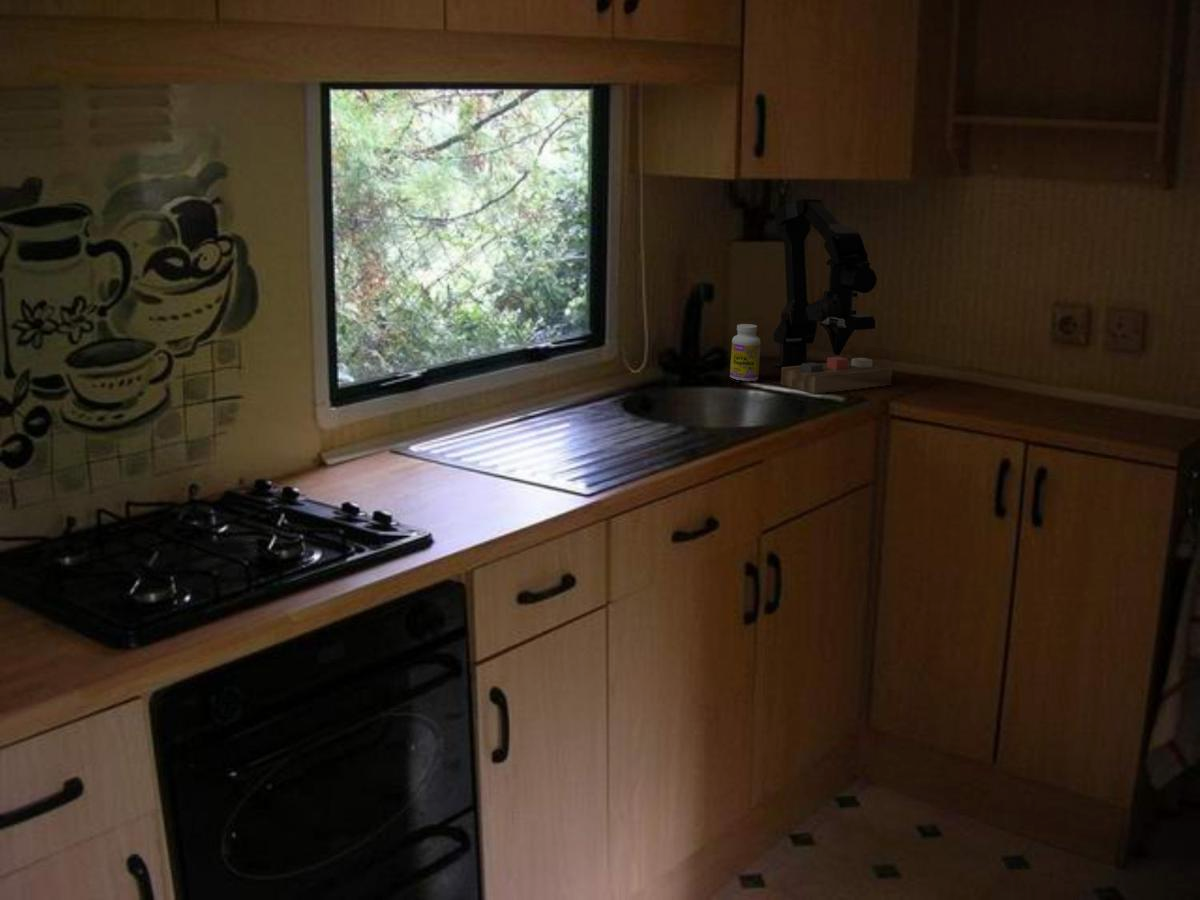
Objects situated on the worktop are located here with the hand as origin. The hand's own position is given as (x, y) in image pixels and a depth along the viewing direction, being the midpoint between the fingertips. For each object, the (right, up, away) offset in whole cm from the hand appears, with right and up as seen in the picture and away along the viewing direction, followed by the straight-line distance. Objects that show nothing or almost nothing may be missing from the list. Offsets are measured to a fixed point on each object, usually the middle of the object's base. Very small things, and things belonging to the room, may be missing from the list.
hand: (836, 354), depth 315 cm
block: (0, -7, +1) cm, 7 cm away
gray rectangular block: (-6, -7, -3) cm, 10 cm away
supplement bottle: (-21, -6, +5) cm, 22 cm away
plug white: (+7, -6, +5) cm, 10 cm away
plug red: (0, -6, +1) cm, 6 cm away
